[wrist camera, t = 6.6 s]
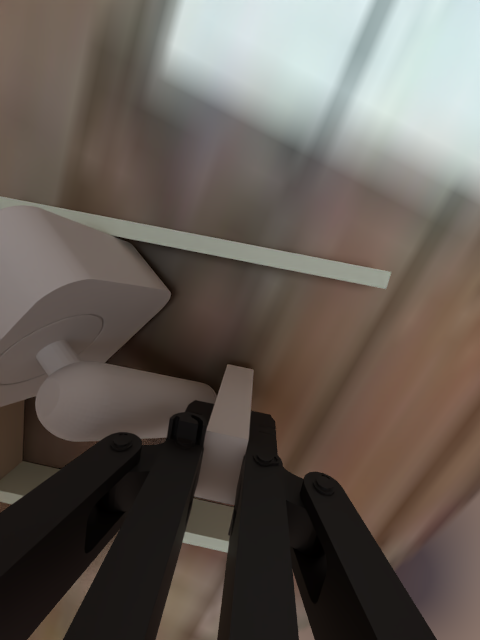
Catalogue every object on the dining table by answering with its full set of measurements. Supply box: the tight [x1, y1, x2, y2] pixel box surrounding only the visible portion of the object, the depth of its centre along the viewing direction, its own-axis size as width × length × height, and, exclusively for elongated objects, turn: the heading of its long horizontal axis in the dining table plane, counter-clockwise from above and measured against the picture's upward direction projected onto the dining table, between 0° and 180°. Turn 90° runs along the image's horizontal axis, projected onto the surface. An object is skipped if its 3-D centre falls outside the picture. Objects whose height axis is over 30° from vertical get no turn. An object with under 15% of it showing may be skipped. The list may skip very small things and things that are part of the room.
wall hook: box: [0, 205, 217, 442], centre depth 14 cm, size 8×10×10 cm
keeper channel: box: [0, 196, 391, 552], centre depth 17 cm, size 20×18×3 cm
